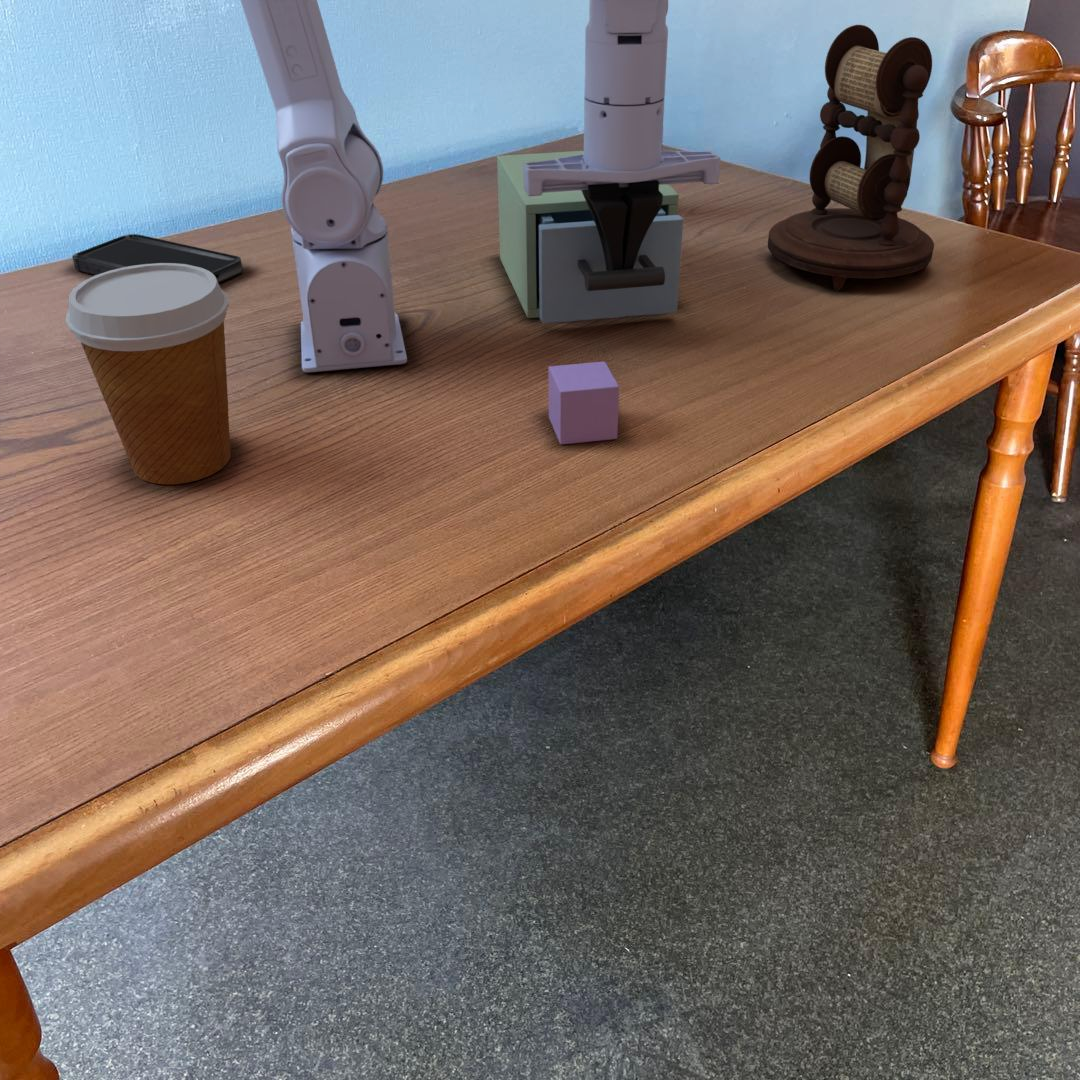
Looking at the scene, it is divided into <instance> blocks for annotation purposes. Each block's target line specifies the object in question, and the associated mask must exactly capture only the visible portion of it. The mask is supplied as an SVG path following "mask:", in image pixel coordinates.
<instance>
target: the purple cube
mask: <svg viewBox="0 0 1080 1080" xmlns="http://www.w3.org/2000/svg"><path fill="white" fill-rule="evenodd" d="M619 401H620V385H619V384H618V382H617V380H616V378H615V376H614V375H613V373H612V371H611V369H610V368H609V366H608V364H607V362H606V361H595V362H593V361H592V362H584V363H572V364H571V363H570V364H560V365H549V366H548V419H549V422H550V423H551V426H552V429H553V431H554V434H555V436H556V438H557V441H558V442H559V445H569V444H570V445H571V444H580V443H591V442H600V441H601V442H602V441H609V440H617V439H618V427H619Z"/></svg>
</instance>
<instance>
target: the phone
mask: <svg viewBox="0 0 1080 1080" xmlns="http://www.w3.org/2000/svg"><path fill="white" fill-rule="evenodd" d="M71 257H72V262H73V266H74V269H75V270H76V271H79V272H82V273H87V274H91V275H94V276H95V275H98V274H101V273H104V272H107V271H110V270H115V269H119V268H123V267H128V266H134V265H143V264H155V263H177V264H187V265H191V266H196V267H200V268H203V269H206V270H208V271H210V272H211V273H212V274H214V276H215V277H216V279H217V281H218V284H220V283H222V282H224V281H226V280H228V279H231V278H233V277H236V276H238V275H240V274H241V273H242V272H243V271H244V270H243V265H242V264H243V263H242V259H241V257H240V256H238V255H233V254H228V253H224V252H220V251H214V250H210V249H207V248H202V247H198V246H197V247H196V246H192V245H189V244H188V245H187V244H184V243H180V242H175V241H170V240H165V239H161V238H157V237H152V236H147V235H143V234H139V233H138V234H137V233H133V234H132V233H131V234H130V233H129V234H124V235H122V236H119V237H116V238H113V239H111V240H107V241H105V242H102V243H100V244H97V245H95V246H92V247H89V248H87V249H84V250H82V251H79V252H77V253H74V254H73V255H72V256H71Z"/></svg>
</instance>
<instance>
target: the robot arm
mask: <svg viewBox="0 0 1080 1080" xmlns="http://www.w3.org/2000/svg"><path fill="white" fill-rule="evenodd" d="M240 4H241V6H242V10H243V12H244V16H245V19H246V23H247V26H248V28H249V32H250V35H251V38H252V41H253V44H254V47H255V51H256V53H257V56H258V60H259V63H260V66H261V69H262V72H263V75H264V78H265V81H266V85H267V87H268V90H269V94H270V97H271V100H272V104H273V107H274V109H275V114H276V115H275V117H276V144H277V145H276V147H277V153H278V157H279V159H280V163H281V167H282V171H283V183H282V189H281V195H280V196H281V207H282V208H281V209H282V211H283V214H284V217H285V218H286V221H287V222H288V225H290V234H291V239H292V247H293V255H294V261H295V270H296V275H297V276H296V277H297V283H298V290H299V298H300V306H301V310H302V316H303V317H302V320H301V321H300V345H301V346H300V347H301V348H300V349H301V351H300V352H301V370H302V372H304V373H319V372H331V371H341V370H350V369H365V368H374V367H375V368H376V367H384V366H385V367H386V366H396V365H399V366H400V365H404V364H407V362H408V356H407V352H406V347H405V342H404V337H403V333H402V328H401V324H400V319H399V314H398V313H396V311H395V302H394V291H393V279H392V269H391V257H390V256H391V255H390V245H389V234H388V224H387V221H386V220H385V219H384V217H382V215H381V214H380V212H379V210H378V209H377V207H376V206H375V205H376V204H374V201H375V198H376V197H377V195H378V194H379V193H380V190H381V187H382V185H383V180H384V165H383V161H382V157H381V156H380V153H379V151H378V149H377V148H376V146H375V145H374V144H373V143H372V141H371V140H370V139H369V138H368V137H367V135H366V134H365V133H364V132H363V130H362V128H361V126H360V124H359V120H358V117H357V114H356V110H355V108H354V106H353V104H352V102H351V101H350V99H349V98H348V95H346V92H345V91H344V89H343V87H342V83H341V80H340V77H339V72H338V70H337V65H336V62H335V58H334V54H333V52H332V49H331V45H330V41H329V37H328V34H327V30H326V27H325V24H324V20H323V16H322V13H321V10H320V6H319V3H318V0H240ZM588 5H589V7H588V8H589V10H588V12H589V13H588V14H589V15H588V18H589V19H588V23H587V25H586V27H585V32H584V37H585V38H584V39H585V40H584V43H585V44H584V96H583V97H584V98H583V99H584V100H583V105H584V107H583V151H584V154H580V155H574V156H569V157H563V158H557V159H552V160H546V161H538V162H528V163H523V182H524V190H525V192H526V194H527V195H528V196H541V195H542V193H545V192H560V191H575V190H582V193H583V196H584V198H585V200H586V202H587V204H588V207H589V209H590V212H591V214H592V217H593V219H594V222H595V225H596V227H597V230H598V234H599V237H600V240H601V244H602V248H603V253H604V257H605V263H606V271H610V270H623V269H633V268H634V264H635V261H636V258H637V255H638V252H639V249H640V247H641V244H642V242H643V239H644V237H645V235H646V233H647V231H648V229H649V227H650V225H651V224H652V222H653V220H654V218H655V217H656V215H657V214H658V212H659V211H660V209H661V206H662V201H663V194H662V193H661V192H660V191H659V185H664V184H669V185H678V184H679V185H680V184H691V183H692V184H693V183H703V184H704V185H718V184H719V180H720V170H721V169H720V168H721V157H720V156H719V155H717V154H716V153H715V152H714V151H713V150H702V151H701V150H700V151H697V150H696V151H692V150H691V151H689V150H684V151H683V150H663V148H662V147H663V146H662V144H663V143H662V141H663V139H662V137H664V127H663V126H664V116H665V96H666V81H667V79H666V78H667V77H666V76H667V60H668V59H667V58H668V40H669V27H668V25H667V14H668V12H669V0H589V4H588Z"/></svg>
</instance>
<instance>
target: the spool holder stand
mask: <svg viewBox="0 0 1080 1080" xmlns="http://www.w3.org/2000/svg"><path fill="white" fill-rule="evenodd" d="M879 44H880V43H879V40H878V37H877V34H876V33H875V32H874V30H873V29H871V28H870V27H869V26H867V25H863V24H854V25H853V24H852V25H849V26H847V27H846V28H845V29H843V30H842V31H841V32H840V33H839V34H838V35H837V36H836V37H835V39H834V40H833V41H832V43H831V44H830V47H829V49H828V51H827V54H826V56H825V62H824V76H825V80H826V83H827V85H828V89H827V92H826V95H827V96H826V97H827V99H828V101H827V102H825V103H824V104H823V105H822V106H821V109H820V111H819V119H820V121H821V123H822V124H823V126H822V129H823V130H824V131H825V132H824V135H823V138H822V140H821V142H820V145H819V149H818V151H817V153H816V154H815V156H814V158H813V159H812V162H811V165H810V169H809V184H810V188H811V191H812V192H813V194H812V198H811V201H812V204H813V206H814V208H812V209H810V210H807V211H802V212H799V213H795V214H792V215H790V216H789V217H787V218H785V219H783V220H780V221H778V222H776V223H775V224H774V225H773V226H772V227H770V229H769V231H768V238H767V249H768V251H769V253H770V255H771V257H772V258H776V259H777V260H779V261H780V262H782V263H784V264H786V265H789V266H791V267H793V268H795V269H799V270H803V271H806V272H810V273H814V274H819V275H824V276H831V277H832V285H833V288H834V290H835V291H840V290H842V288H843V286H844V285H845V282H846V280H847V278H849V279H884V278H894V277H900V276H905V275H908V274H912V273H915V272H917V273H919V274H924V272H925V271H926V270H927V268H928V266H929V264H930V263H931V262H932V259H933V256H934V255H933V254H934V248H935V243H934V240H933V239H932V237H931V236H930V235H929V234H928V233H926V232H925V231H924V230H923V229H921V228H920V227H918V226H917V225H916V224H914V223H912V222H910V221H909V220H905V219H903V218H901V217H899V215H898V213H900V212H902V210H903V207H902V206H903V204H904V202H905V200H906V198H907V196H908V192H909V188H910V185H911V178H912V171H913V163H914V154H915V149H916V148H917V146H918V144H919V143H920V130H919V129H918V128H917V127H918V120H919V116H920V112H919V99H921V98H922V97H923V96H924V94H923V93H924V92H925V90H926V89H927V87H928V85H929V82H930V78H931V75H932V70H933V56H932V52H931V49H930V47H929V45H928V43H926V41H924V40H923V39H921V38H919V37H916V36H909V37H905V38H902V39H900V40H898V41H897V42H896V43H895V44H893V45H892V46H891V47H890V48H889V49H888V51H887V52H884V51H880V45H879ZM846 105H848V106H851V107H853V108H857V109H860V110H863V111H866V112H867V115H864V114H860V115H859V114H858V115H857V114H856V113H855V112H853V111H852V110H849V109H847V107H846ZM840 126H841V127H842V128H843V129H853V130H854V131H855V132H856V133H859V134H860V135H862V136H864V137H866V139H865V140H866V143H865V160H864V167H861V165H862V154H861V150H860V147H859V144H858V143H857V142H856V141H855V140H854V139H853V138H851V137H848V136H843V135H842V136H837V131H839V130H840V129H841V127H840ZM831 201H833V202H834V203H837V204H839V205H842V206H844V207H833V208H832V207H831V208H827V207H828V206H829V205H830V203H831Z"/></svg>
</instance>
